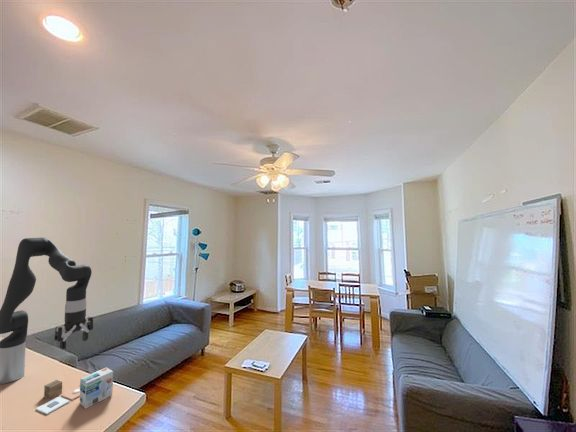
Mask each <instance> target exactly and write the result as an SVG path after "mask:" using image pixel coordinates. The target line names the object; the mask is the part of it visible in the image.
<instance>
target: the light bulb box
mask: <svg viewBox="0 0 576 432" xmlns="http://www.w3.org/2000/svg"><path fill="white" fill-rule="evenodd" d="M113 381H114V371H113V370H112V369H110V368H108V367H107V366H106V367H104V368H102V369H100V370H97V371H95V372H93V373H90V374H87V375H85V376H83V377H81V378H80V381H79V383H80V384H79V385H80V396H79V404H80V405H81V406H82V407H83V408H84V409H88V408H89V407H92V406H93V405H96V404H98V403H99V402H102V401H104V400H106V399H108V398H110V397H113V387H114V385H113V384H114V383H113Z"/></svg>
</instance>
